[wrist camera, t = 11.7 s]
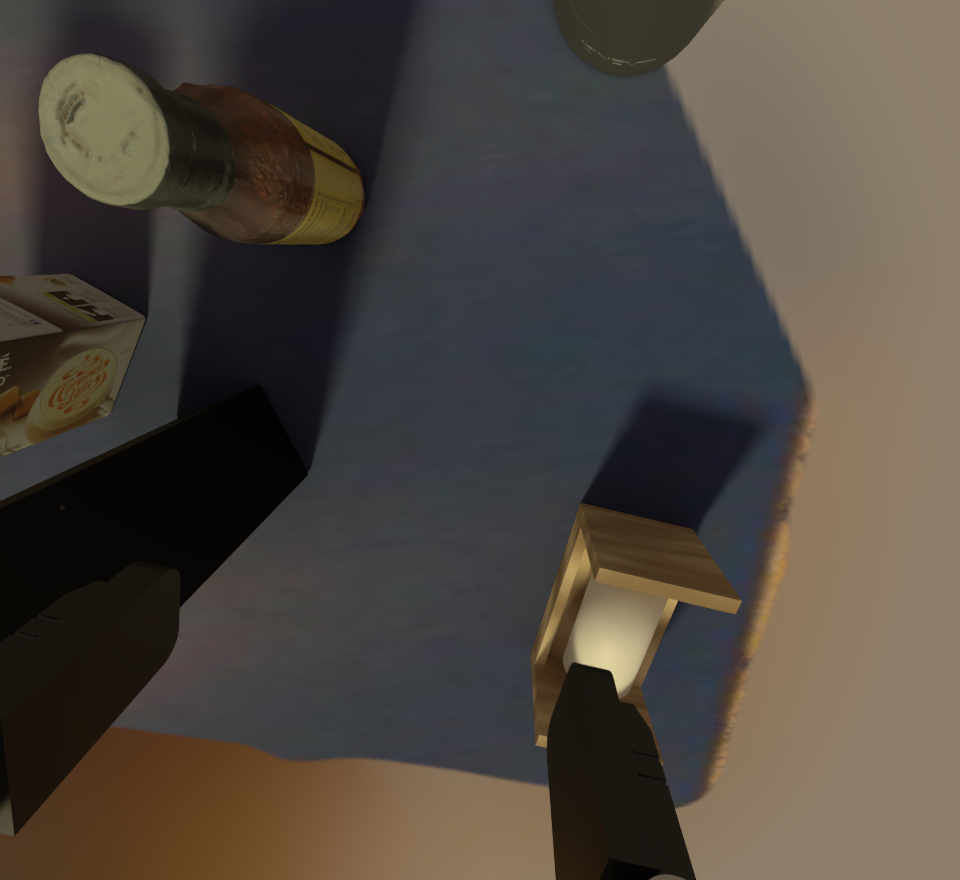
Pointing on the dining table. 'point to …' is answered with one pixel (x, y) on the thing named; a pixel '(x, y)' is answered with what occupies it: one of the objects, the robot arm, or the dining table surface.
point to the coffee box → (59, 355)
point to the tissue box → (147, 506)
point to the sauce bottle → (196, 154)
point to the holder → (627, 564)
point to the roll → (614, 631)
